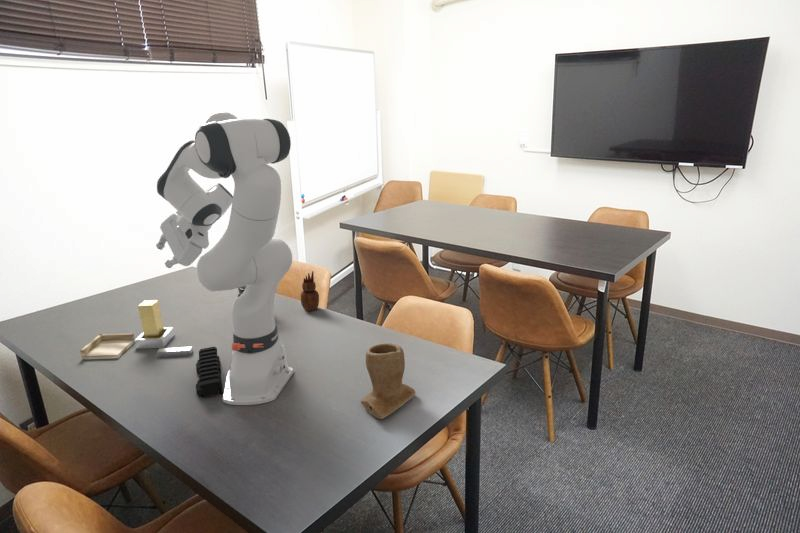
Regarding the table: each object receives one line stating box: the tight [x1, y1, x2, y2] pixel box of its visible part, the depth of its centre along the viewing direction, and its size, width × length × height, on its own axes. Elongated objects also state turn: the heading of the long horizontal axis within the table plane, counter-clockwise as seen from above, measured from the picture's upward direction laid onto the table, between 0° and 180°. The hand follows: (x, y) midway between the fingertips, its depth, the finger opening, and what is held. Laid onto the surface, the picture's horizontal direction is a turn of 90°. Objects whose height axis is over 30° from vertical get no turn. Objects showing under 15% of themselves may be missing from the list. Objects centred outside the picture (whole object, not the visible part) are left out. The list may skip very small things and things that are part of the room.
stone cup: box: [360, 342, 416, 420], centre depth 124 cm, size 15×12×15 cm
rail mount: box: [195, 346, 224, 398], centre depth 138 cm, size 21×6×5 cm, turn 22°
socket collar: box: [134, 326, 176, 349], centre depth 161 cm, size 9×9×3 cm
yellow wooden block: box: [137, 299, 165, 338], centre depth 159 cm, size 4×4×14 cm
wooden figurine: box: [300, 270, 320, 312], centre depth 182 cm, size 7×6×15 cm
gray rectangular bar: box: [156, 346, 194, 358], centre depth 153 cm, size 10×2×2 cm, turn 95°
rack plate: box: [80, 332, 136, 360], centre depth 155 cm, size 11×11×3 cm
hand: (162, 256), depth 153 cm, fingers open, 8 cm apart
